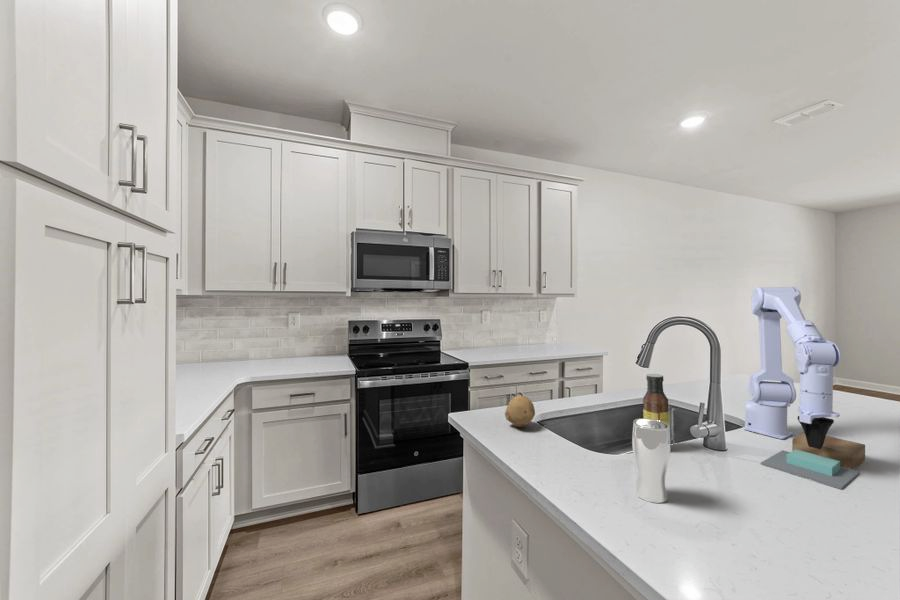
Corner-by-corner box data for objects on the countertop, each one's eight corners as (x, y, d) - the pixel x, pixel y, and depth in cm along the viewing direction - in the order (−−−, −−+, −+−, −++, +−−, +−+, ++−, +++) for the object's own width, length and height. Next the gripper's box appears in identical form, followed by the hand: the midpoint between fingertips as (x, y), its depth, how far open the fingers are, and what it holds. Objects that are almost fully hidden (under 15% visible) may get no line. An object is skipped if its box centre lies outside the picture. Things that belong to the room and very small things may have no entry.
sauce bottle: (667, 444, 103) (667, 373, 103) (672, 453, 97) (673, 378, 97) (641, 441, 105) (641, 371, 105) (644, 450, 100) (645, 376, 99)
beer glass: (669, 508, 73) (670, 431, 72) (630, 498, 76) (630, 425, 76) (670, 492, 78) (670, 421, 78) (633, 483, 82) (634, 415, 82)
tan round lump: (540, 431, 113) (540, 399, 113) (513, 434, 111) (513, 401, 111) (527, 421, 122) (527, 391, 122) (502, 424, 120) (502, 393, 120)
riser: (792, 453, 97) (792, 438, 97) (806, 445, 103) (806, 430, 103) (852, 470, 88) (853, 453, 88) (865, 460, 93) (865, 444, 93)
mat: (760, 464, 91) (760, 462, 91) (782, 451, 99) (782, 450, 99) (841, 489, 79) (841, 487, 79) (859, 473, 87) (859, 471, 87)
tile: (795, 449, 94) (795, 457, 95) (786, 454, 91) (786, 462, 91) (840, 461, 88) (840, 469, 88) (832, 467, 85) (831, 476, 85)
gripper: (829, 400, 83) (828, 460, 83) (848, 391, 90) (847, 446, 91) (788, 392, 89) (787, 449, 89) (809, 385, 97) (808, 437, 97)
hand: (815, 447), depth 90 cm, fingers closed
